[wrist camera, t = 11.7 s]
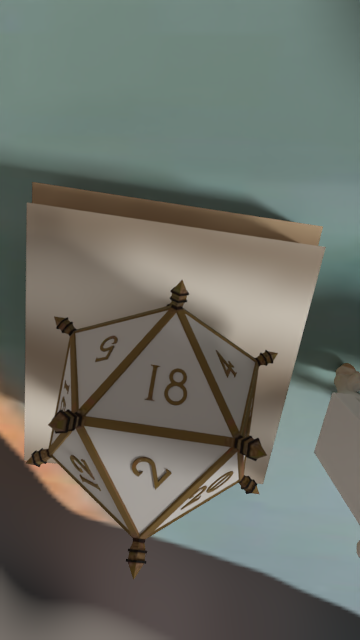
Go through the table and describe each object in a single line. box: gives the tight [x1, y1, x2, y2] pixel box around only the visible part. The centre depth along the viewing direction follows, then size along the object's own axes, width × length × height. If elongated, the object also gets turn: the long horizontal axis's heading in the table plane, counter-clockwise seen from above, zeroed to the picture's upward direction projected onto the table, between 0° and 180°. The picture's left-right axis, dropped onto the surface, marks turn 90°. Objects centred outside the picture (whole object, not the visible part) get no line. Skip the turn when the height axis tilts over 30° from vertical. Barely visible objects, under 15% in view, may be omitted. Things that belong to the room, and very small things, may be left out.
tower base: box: [24, 182, 326, 484], centre depth 19 cm, size 15×15×6 cm
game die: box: [26, 280, 278, 579], centre depth 12 cm, size 9×8×10 cm
